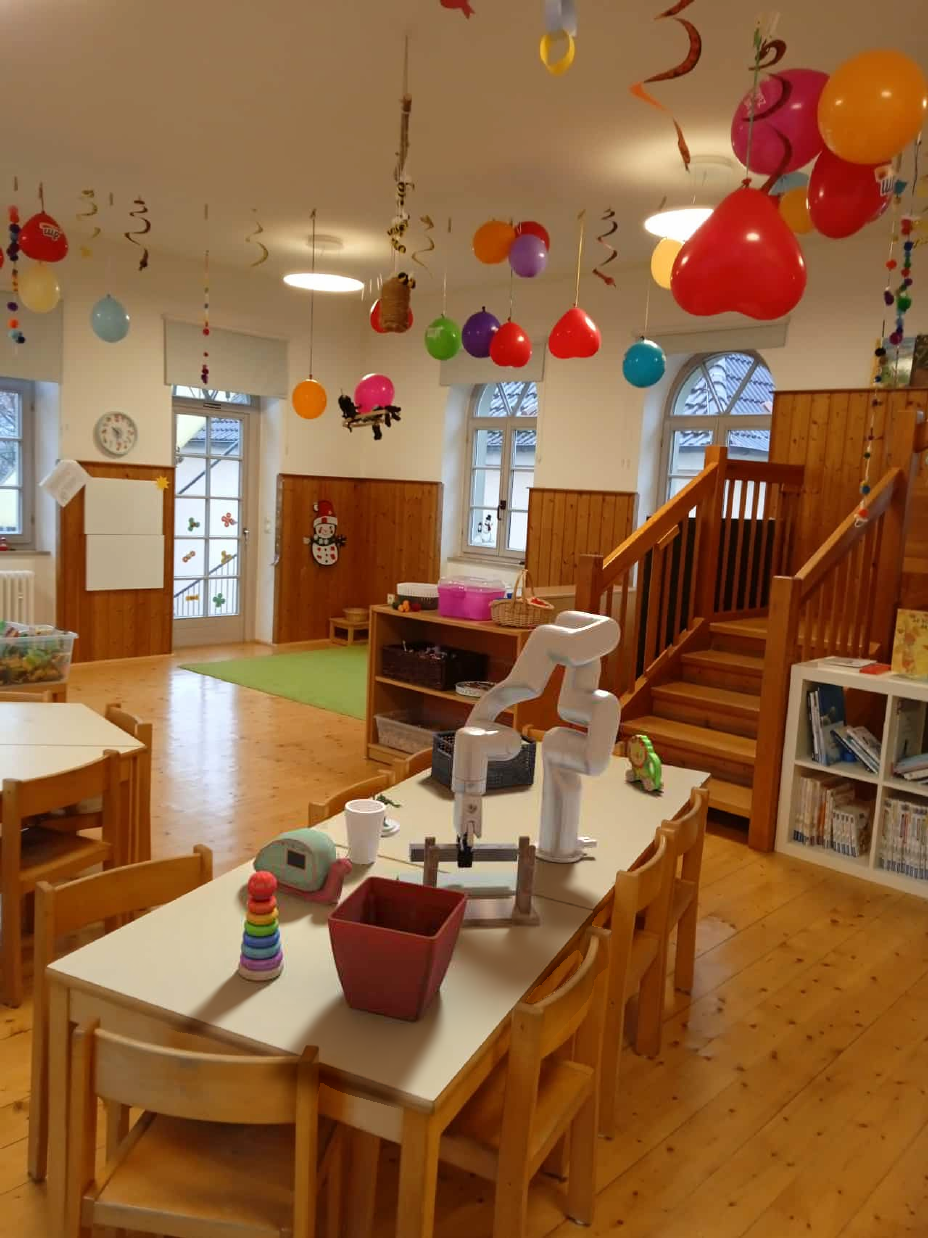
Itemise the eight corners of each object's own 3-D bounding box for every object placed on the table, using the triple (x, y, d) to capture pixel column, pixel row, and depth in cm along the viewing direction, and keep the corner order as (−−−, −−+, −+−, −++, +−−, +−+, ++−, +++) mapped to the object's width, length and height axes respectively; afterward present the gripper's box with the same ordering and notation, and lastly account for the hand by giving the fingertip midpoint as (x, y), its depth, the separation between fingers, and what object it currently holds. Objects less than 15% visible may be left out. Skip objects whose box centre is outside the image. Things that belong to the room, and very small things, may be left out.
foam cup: (389, 856, 223) (392, 803, 221) (373, 870, 215) (375, 815, 213) (353, 849, 226) (355, 797, 224) (335, 862, 217) (338, 808, 216)
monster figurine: (361, 839, 233) (363, 799, 231) (346, 822, 244) (348, 784, 242) (406, 834, 238) (408, 795, 236) (390, 818, 249) (392, 781, 247)
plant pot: (365, 960, 174) (369, 873, 172) (463, 981, 169) (469, 892, 166) (320, 1013, 156) (324, 917, 153) (429, 1038, 150) (435, 939, 148)
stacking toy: (241, 960, 171) (244, 862, 169) (285, 960, 172) (289, 863, 169) (234, 982, 163) (237, 880, 161) (280, 983, 164) (284, 881, 161)
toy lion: (664, 792, 286) (669, 743, 284) (649, 793, 284) (654, 744, 282) (634, 776, 300) (638, 730, 298) (620, 777, 298) (624, 731, 296)
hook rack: (528, 905, 201) (533, 833, 199) (539, 924, 193) (544, 850, 190) (412, 907, 197) (417, 834, 194) (418, 927, 188) (423, 851, 186)
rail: (514, 856, 212) (515, 843, 212) (517, 861, 209) (518, 848, 209) (408, 856, 207) (409, 843, 207) (410, 862, 205) (411, 848, 204)
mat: (517, 875, 217) (518, 872, 217) (528, 893, 207) (528, 890, 207) (397, 877, 211) (397, 873, 211) (402, 896, 202) (402, 892, 202)
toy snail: (247, 882, 204) (249, 821, 202) (271, 871, 211) (273, 812, 209) (336, 915, 191) (339, 850, 190) (359, 902, 198) (362, 839, 196)
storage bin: (505, 766, 303) (508, 726, 301) (538, 784, 286) (541, 741, 284) (426, 775, 289) (429, 732, 287) (456, 794, 272) (459, 749, 270)
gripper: (493, 796, 199) (487, 879, 201) (478, 773, 215) (472, 850, 217) (458, 796, 197) (452, 879, 200) (445, 772, 213) (440, 850, 216)
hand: (463, 863), depth 208 cm, fingers closed on rail, 3 cm apart
